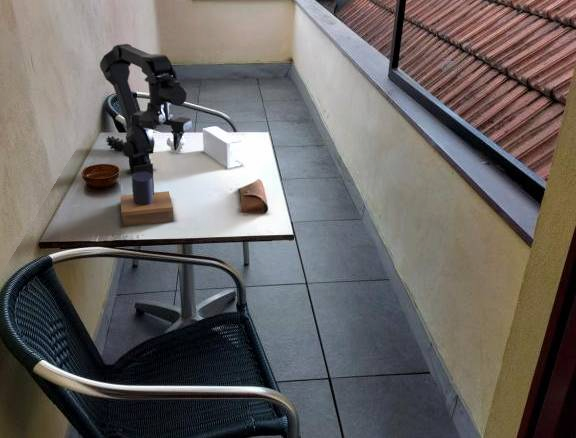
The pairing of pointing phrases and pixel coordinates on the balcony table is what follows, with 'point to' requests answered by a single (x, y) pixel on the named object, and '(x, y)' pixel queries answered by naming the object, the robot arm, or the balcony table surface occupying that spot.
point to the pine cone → (116, 143)
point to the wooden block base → (147, 210)
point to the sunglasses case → (253, 198)
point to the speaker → (143, 184)
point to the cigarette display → (220, 146)
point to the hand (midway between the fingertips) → (163, 147)
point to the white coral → (171, 144)
